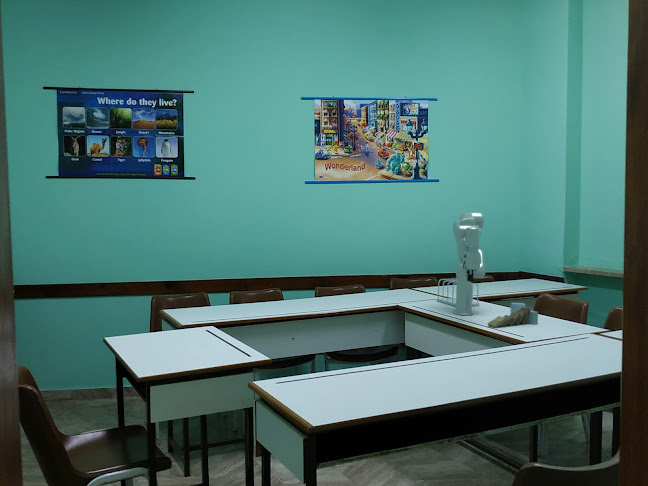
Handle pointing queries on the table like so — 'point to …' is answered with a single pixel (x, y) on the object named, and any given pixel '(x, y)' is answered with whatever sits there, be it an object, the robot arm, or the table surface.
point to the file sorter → (452, 300)
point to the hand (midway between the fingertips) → (470, 281)
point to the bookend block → (532, 317)
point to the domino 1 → (497, 322)
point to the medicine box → (516, 307)
